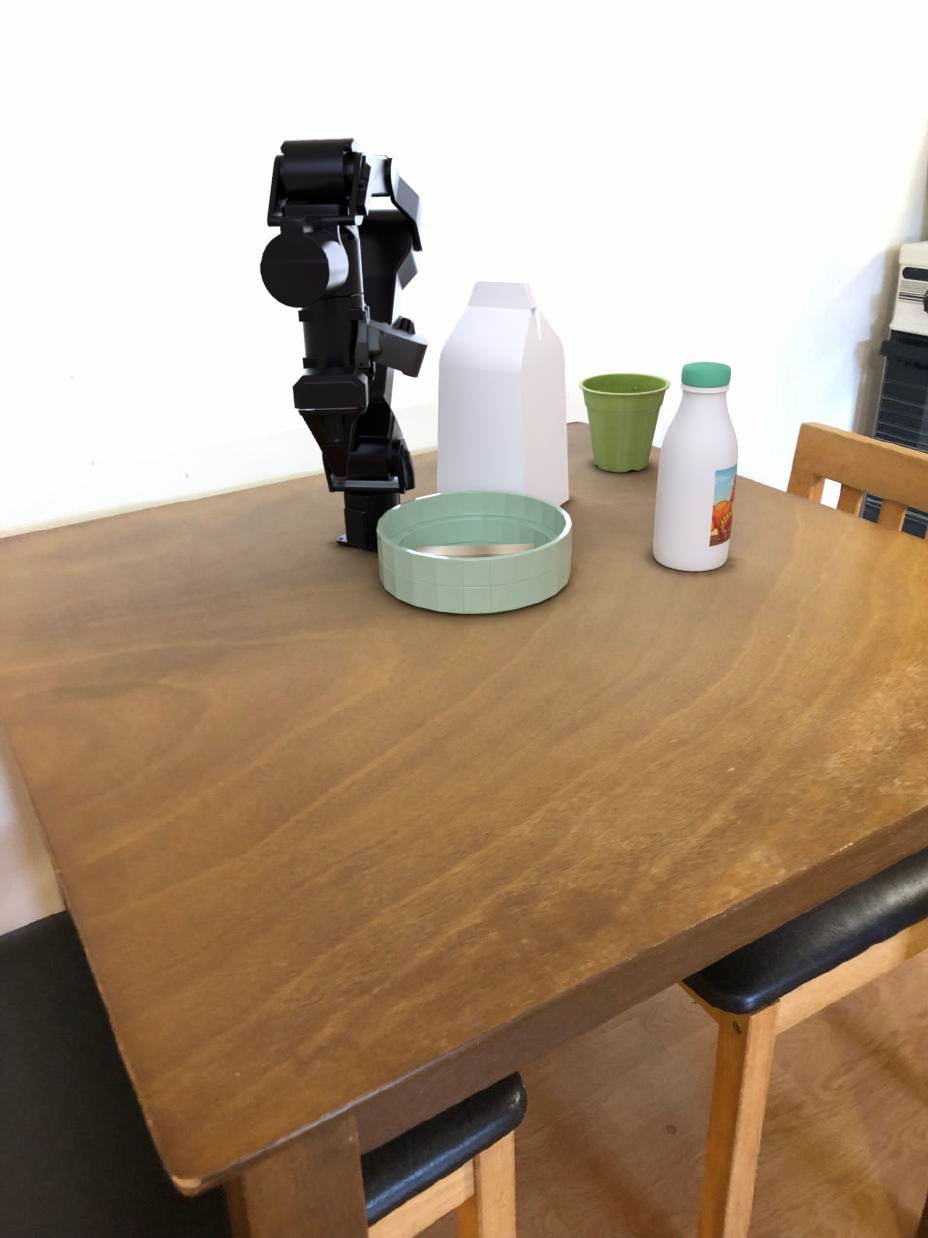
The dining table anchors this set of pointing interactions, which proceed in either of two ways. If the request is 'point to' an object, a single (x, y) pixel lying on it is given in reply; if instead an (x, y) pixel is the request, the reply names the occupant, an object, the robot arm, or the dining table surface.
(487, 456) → the milk
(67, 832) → the dining table surface
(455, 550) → the stick
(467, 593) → the bowl
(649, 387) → the plant pot
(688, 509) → the milk bottle
